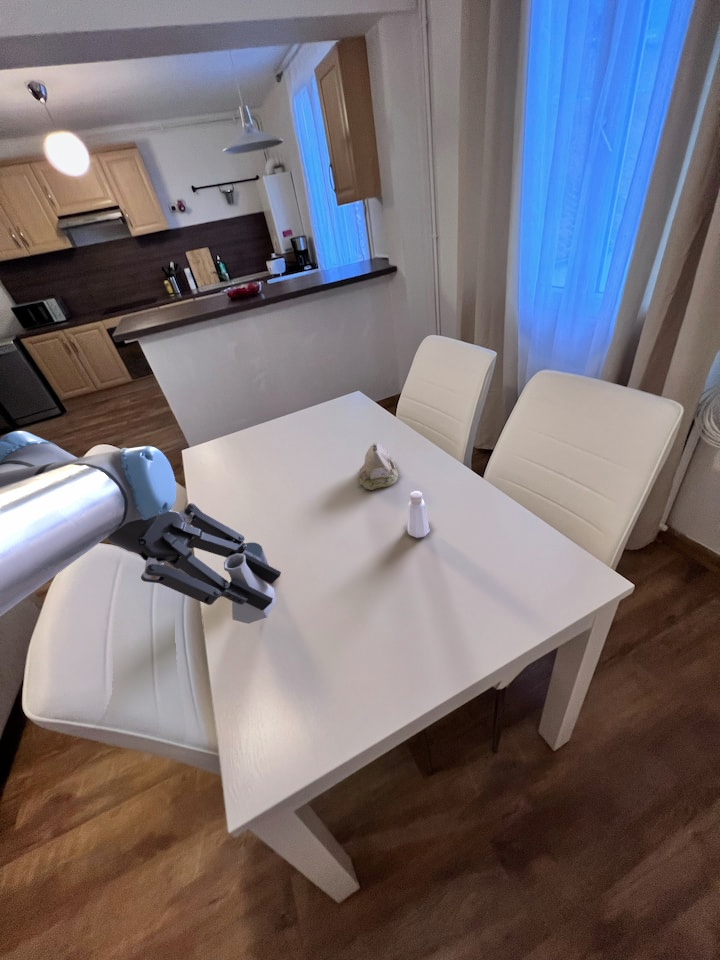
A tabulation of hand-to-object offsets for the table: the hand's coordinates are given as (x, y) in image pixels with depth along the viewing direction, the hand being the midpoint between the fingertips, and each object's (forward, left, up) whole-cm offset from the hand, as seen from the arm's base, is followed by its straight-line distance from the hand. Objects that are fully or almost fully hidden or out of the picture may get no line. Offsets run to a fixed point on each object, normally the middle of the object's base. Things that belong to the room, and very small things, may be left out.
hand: (271, 590), depth 61 cm
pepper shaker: (+39, -10, -21) cm, 45 cm away
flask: (-1, +4, -3) cm, 5 cm away
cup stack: (+13, +19, -20) cm, 31 cm away
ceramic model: (+58, +8, -21) cm, 62 cm away
